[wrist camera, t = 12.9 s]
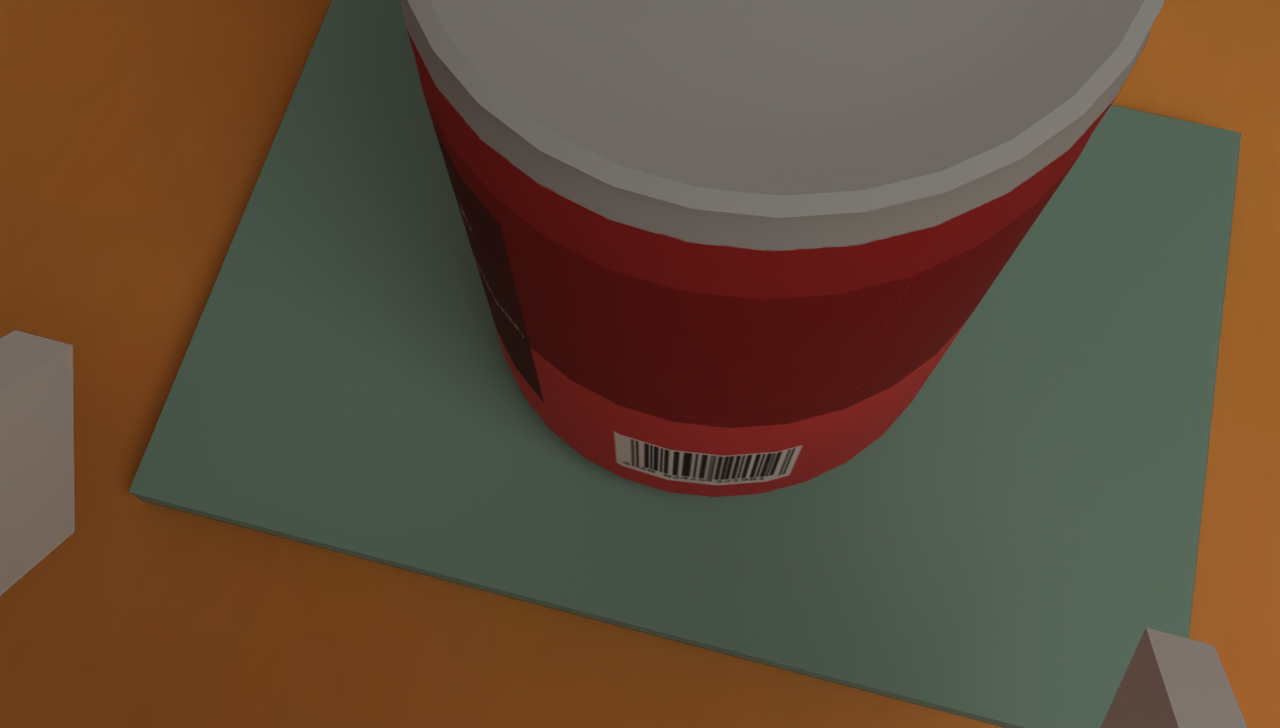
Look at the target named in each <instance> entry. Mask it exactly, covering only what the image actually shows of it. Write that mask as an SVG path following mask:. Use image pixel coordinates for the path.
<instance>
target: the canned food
mask: <svg viewBox="0 0 1280 728" xmlns="http://www.w3.org/2000/svg"><path fill="white" fill-rule="evenodd" d="M1164 1H1165V0H400V3H401V7H402V11H403V16H404V20H405V25H406V29H407V32H408V35H409V39H410V42H411V46H412V49H413V52H414V56H415V60H416V64H417V68H418V73H419V77H420V82H421V86H422V90H423V93H424V97H425V100H426V103H427V106H428V109H429V113H430V116H431V119H432V122H433V126H434V129H435V132H436V135H437V139H438V142H439V145H440V148H441V152H442V155H443V158H444V161H445V164H446V168H447V171H448V174H449V177H450V181H451V184H452V187H453V190H454V194H455V197H456V200H457V203H458V207H459V210H460V213H461V216H462V219H463V223H464V226H465V229H466V232H467V236H468V239H469V242H470V245H471V249H472V252H473V255H474V258H475V262H476V265H477V268H478V271H479V274H480V278H481V281H482V284H483V287H484V291H485V294H486V297H487V300H488V304H489V307H490V310H491V313H492V317H493V320H494V323H495V326H496V329H497V333H498V336H499V339H500V342H501V346H502V349H503V352H504V355H505V359H506V361H507V363H508V365H509V367H510V369H511V371H512V373H513V375H514V377H515V379H516V381H517V383H518V385H519V387H520V390H521V392H522V394H523V396H524V397H525V398H526V400H527V401H528V402H529V403H530V405H531V406H532V407H533V408H534V410H535V411H536V412H537V413H538V415H539V416H540V417H541V419H542V420H543V421H544V422H545V424H546V425H547V426H548V427H549V429H550V430H552V431H553V432H554V433H555V434H556V435H558V436H559V437H560V438H561V439H562V440H564V441H565V442H566V443H567V444H568V445H570V446H571V447H572V448H573V449H574V450H576V451H577V452H578V453H579V454H581V455H582V456H583V457H584V458H586V459H588V460H590V461H592V462H594V463H596V464H598V465H599V466H601V467H603V468H605V469H607V470H609V471H611V472H612V473H614V474H616V475H618V476H620V477H622V478H624V479H627V480H630V481H634V482H637V483H640V484H643V485H647V486H650V487H653V488H656V489H659V490H663V491H666V492H672V493H681V494H690V495H699V496H708V497H723V496H737V495H750V494H762V493H765V492H769V491H773V490H777V489H780V488H784V487H788V486H792V485H796V484H799V483H803V482H806V481H808V480H811V479H813V478H815V477H817V476H819V475H821V474H823V473H825V472H827V471H829V470H831V469H833V468H836V467H838V466H840V465H842V464H844V463H846V462H848V461H849V460H850V459H852V458H853V457H854V456H856V455H857V454H858V453H860V452H861V451H862V450H864V449H865V448H866V447H868V446H869V445H870V444H872V443H873V442H874V441H876V440H877V439H878V438H880V437H881V436H882V435H883V434H884V433H885V432H886V431H887V430H888V429H889V427H890V426H891V425H892V424H893V423H894V422H895V421H896V419H897V418H898V417H899V416H900V415H901V414H902V413H903V412H904V410H905V409H906V408H907V407H908V406H909V405H910V404H911V402H912V401H913V399H914V398H915V396H916V395H917V394H918V392H919V391H920V389H921V388H922V386H923V385H924V383H925V382H926V380H927V379H928V377H929V376H930V375H931V373H932V372H933V370H934V369H935V367H936V366H937V364H938V363H939V361H940V360H941V358H942V357H943V355H944V354H945V353H946V351H947V350H948V348H949V347H950V345H951V344H952V342H953V341H954V339H955V338H956V336H957V335H958V333H959V332H960V331H961V329H962V328H963V326H964V325H965V323H966V322H967V320H968V319H969V317H970V316H971V314H972V313H973V312H974V310H975V309H976V307H977V306H978V304H979V303H980V301H981V300H982V298H983V297H984V295H985V294H986V292H987V291H988V290H989V288H990V287H991V285H992V284H993V282H994V281H995V279H996V278H997V276H998V275H999V273H1000V272H1001V270H1002V269H1003V268H1004V266H1005V265H1006V263H1007V262H1008V260H1009V259H1010V257H1011V256H1012V254H1013V253H1014V251H1015V250H1016V249H1017V247H1018V246H1019V244H1020V243H1021V241H1022V240H1023V238H1024V237H1025V235H1026V234H1027V232H1028V231H1029V229H1030V228H1031V227H1032V225H1033V224H1034V222H1035V221H1036V219H1037V218H1038V216H1039V215H1040V213H1041V212H1042V210H1043V209H1044V207H1045V206H1046V205H1047V203H1048V202H1049V200H1050V199H1051V197H1052V196H1053V194H1054V193H1055V191H1056V190H1057V188H1058V187H1059V186H1060V184H1061V183H1062V181H1063V180H1064V178H1065V177H1066V175H1067V174H1068V172H1069V171H1070V169H1071V168H1072V166H1073V165H1074V164H1075V162H1076V161H1077V159H1078V158H1079V156H1080V155H1081V153H1082V151H1083V149H1084V147H1085V146H1086V144H1087V142H1088V140H1089V138H1090V137H1091V135H1092V133H1093V131H1094V130H1095V128H1096V127H1097V125H1098V124H1099V122H1100V121H1101V119H1102V118H1103V116H1104V115H1105V113H1106V112H1107V110H1108V109H1109V107H1110V106H1111V104H1112V103H1113V101H1114V100H1115V98H1116V97H1117V95H1118V93H1119V91H1120V89H1121V88H1122V86H1123V84H1124V82H1125V80H1126V79H1127V77H1128V75H1129V73H1130V71H1131V70H1132V68H1133V66H1134V64H1135V62H1136V61H1137V59H1138V57H1139V55H1140V53H1141V52H1142V50H1143V48H1144V46H1145V44H1146V43H1147V41H1148V37H1149V33H1150V29H1151V26H1152V24H1153V22H1154V21H1155V19H1156V17H1157V15H1158V13H1159V12H1160V10H1161V8H1162V6H1163V4H1164Z"/></svg>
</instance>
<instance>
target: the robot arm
mask: <svg viewBox="0 0 1280 728" xmlns="http://www.w3.org/2000/svg"><path fill="white" fill-rule="evenodd" d="M74 532H75V501H74V412H73V345H70V344H66V343H63V342H59V341H55V340H51V339H47V338H44V337H40V336H36V335H32V334H28V333H25V332H21V331H17V330H14V331H13V332H11V333H9V334H7V335H6V336H4V337H2V338H0V596H1V595H2V594H3V593H4V592H5V591H7V590H8V589H9V588H10V587H11V586H12V585H14V584H15V583H16V582H17V581H18V580H19V579H21V578H22V577H23V576H24V575H25V574H26V573H27V572H29V571H30V570H31V569H32V568H33V567H34V566H36V565H37V564H38V563H39V562H40V561H41V560H43V559H44V558H45V557H46V556H47V555H48V554H50V553H51V552H52V551H53V550H54V549H55V548H56V547H58V546H59V545H60V544H61V543H62V542H63V541H65V540H66V539H67V538H68V537H69V536H70V535H72V534H73V533H74ZM1100 728H1247V726H1246V723H1245V721H1244V718H1243V716H1242V713H1241V711H1240V708H1239V706H1238V703H1237V701H1236V698H1235V696H1234V694H1233V691H1232V689H1231V686H1230V684H1229V681H1228V679H1227V676H1226V674H1225V671H1224V669H1223V666H1222V664H1221V661H1220V659H1219V656H1218V654H1217V651H1216V649H1215V647H1214V645H1211V644H1207V643H1203V642H1199V641H1195V640H1192V639H1188V638H1184V637H1180V636H1176V635H1173V634H1169V633H1165V632H1161V631H1157V630H1154V629H1150V628H1145V631H1144V633H1143V635H1142V637H1141V639H1140V642H1139V644H1138V646H1137V648H1136V650H1135V653H1134V655H1133V657H1132V659H1131V661H1130V664H1129V666H1128V668H1127V670H1126V672H1125V675H1124V677H1123V679H1122V681H1121V683H1120V686H1119V688H1118V690H1117V692H1116V694H1115V697H1114V699H1113V701H1112V703H1111V705H1110V708H1109V710H1108V712H1107V714H1106V716H1105V719H1104V721H1103V723H1102V725H1101V727H1100Z"/></svg>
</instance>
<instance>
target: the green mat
mask: <svg viewBox="0 0 1280 728" xmlns="http://www.w3.org/2000/svg"><path fill="white" fill-rule="evenodd" d="M1240 139H1241V133H1239V132H1234V131H1230V130H1225V129H1221V128H1216V127H1211V126H1207V125H1202V124H1198V123H1193V122H1188V121H1184V120H1179V119H1174V118H1170V117H1165V116H1161V115H1156V114H1151V113H1147V112H1142V111H1137V110H1133V109H1128V108H1124V107H1119V106H1114V105H1111V106H1110V107H1109V109H1108V110H1107V112H1106V113H1105V115H1104V116H1103V118H1102V119H1101V121H1100V122H1099V124H1098V125H1097V127H1096V128H1095V130H1094V131H1093V133H1092V135H1091V137H1090V138H1089V140H1088V142H1087V144H1086V146H1085V147H1084V149H1083V151H1082V153H1081V155H1080V156H1079V158H1078V159H1077V161H1076V162H1075V164H1074V165H1073V166H1072V168H1071V169H1070V171H1069V172H1068V174H1067V175H1066V177H1065V178H1064V180H1063V181H1062V183H1061V184H1060V186H1059V187H1058V188H1057V190H1056V191H1055V193H1054V194H1053V196H1052V197H1051V199H1050V200H1049V202H1048V203H1047V205H1046V206H1045V207H1044V209H1043V210H1042V212H1041V213H1040V215H1039V216H1038V218H1037V219H1036V221H1035V222H1034V224H1033V225H1032V227H1031V228H1030V229H1029V231H1028V232H1027V234H1026V235H1025V237H1024V238H1023V240H1022V241H1021V243H1020V244H1019V246H1018V247H1017V249H1016V250H1015V251H1014V253H1013V254H1012V256H1011V257H1010V259H1009V260H1008V262H1007V263H1006V265H1005V266H1004V268H1003V269H1002V270H1001V272H1000V273H999V275H998V276H997V278H996V279H995V281H994V282H993V284H992V285H991V287H990V288H989V290H988V291H987V292H986V294H985V295H984V297H983V298H982V300H981V301H980V303H979V304H978V306H977V307H976V309H975V310H974V312H973V313H972V314H971V316H970V317H969V319H968V320H967V322H966V323H965V325H964V326H963V328H962V329H961V331H960V332H959V333H958V335H957V336H956V338H955V339H954V341H953V342H952V344H951V345H950V347H949V348H948V350H947V351H946V353H945V354H944V355H943V357H942V358H941V360H940V361H939V363H938V364H937V366H936V367H935V369H934V370H933V372H932V373H931V375H930V376H929V377H928V379H927V380H926V382H925V383H924V385H923V386H922V388H921V389H920V391H919V392H918V394H917V395H916V396H915V398H914V399H913V401H912V402H911V404H910V405H909V406H908V407H907V408H906V409H905V410H904V412H903V413H902V414H901V415H900V416H899V417H898V418H897V419H896V421H895V422H894V423H893V424H892V425H891V426H890V427H889V429H888V430H887V431H886V432H885V433H884V434H883V435H882V436H881V437H880V438H878V439H877V440H876V441H874V442H873V443H872V444H870V445H869V446H868V447H866V448H865V449H864V450H862V451H861V452H860V453H858V454H857V455H856V456H854V457H853V458H852V459H850V460H849V461H848V462H846V463H844V464H842V465H840V466H838V467H836V468H833V469H831V470H829V471H827V472H825V473H823V474H821V475H819V476H817V477H815V478H813V479H811V480H808V481H806V482H803V483H799V484H796V485H792V486H788V487H784V488H780V489H777V490H773V491H769V492H765V493H762V494H750V495H737V496H723V497H708V496H699V495H690V494H681V493H672V492H666V491H663V490H659V489H656V488H653V487H650V486H647V485H643V484H640V483H637V482H634V481H630V480H627V479H624V478H622V477H620V476H618V475H616V474H614V473H612V472H611V471H609V470H607V469H605V468H603V467H601V466H599V465H598V464H596V463H594V462H592V461H590V460H588V459H586V458H584V457H583V456H582V455H581V454H579V453H578V452H577V451H576V450H574V449H573V448H572V447H571V446H570V445H568V444H567V443H566V442H565V441H564V440H562V439H561V438H560V437H559V436H558V435H556V434H555V433H554V432H553V431H552V430H550V429H549V427H548V426H547V425H546V424H545V422H544V421H543V420H542V419H541V417H540V416H539V415H538V413H537V412H536V411H535V410H534V408H533V407H532V406H531V405H530V403H529V402H528V401H527V400H526V398H525V397H524V396H523V394H522V392H521V390H520V387H519V385H518V383H517V381H516V379H515V377H514V375H513V373H512V371H511V369H510V367H509V365H508V363H507V361H506V359H505V355H504V352H503V349H502V346H501V342H500V339H499V336H498V333H497V329H496V326H495V323H494V320H493V317H492V313H491V310H490V307H489V304H488V300H487V297H486V294H485V291H484V287H483V284H482V281H481V278H480V274H479V271H478V268H477V265H476V262H475V258H474V255H473V252H472V249H471V245H470V242H469V239H468V236H467V232H466V229H465V226H464V223H463V219H462V216H461V213H460V210H459V207H458V203H457V200H456V197H455V194H454V190H453V187H452V184H451V181H450V177H449V174H448V171H447V168H446V164H445V161H444V158H443V155H442V152H441V148H440V145H439V142H438V139H437V135H436V132H435V129H434V126H433V122H432V119H431V116H430V113H429V109H428V106H427V103H426V100H425V97H424V93H423V90H422V86H421V82H420V77H419V73H418V68H417V64H416V60H415V56H414V52H413V49H412V46H411V42H410V39H409V35H408V32H407V29H406V25H405V20H404V16H403V11H402V7H401V3H400V0H332V1H331V4H330V6H329V9H328V11H327V13H326V16H325V18H324V21H323V23H322V26H321V28H320V30H319V33H318V35H317V38H316V40H315V42H314V45H313V47H312V50H311V52H310V55H309V57H308V59H307V62H306V64H305V67H304V69H303V71H302V74H301V76H300V79H299V81H298V84H297V86H296V88H295V91H294V93H293V96H292V98H291V100H290V103H289V105H288V108H287V110H286V113H285V115H284V117H283V120H282V122H281V125H280V127H279V129H278V132H277V134H276V137H275V139H274V142H273V144H272V146H271V149H270V151H269V154H268V156H267V158H266V161H265V163H264V166H263V168H262V171H261V173H260V175H259V178H258V180H257V183H256V185H255V187H254V190H253V192H252V195H251V197H250V200H249V202H248V204H247V207H246V209H245V212H244V214H243V216H242V219H241V221H240V224H239V226H238V229H237V231H236V233H235V236H234V238H233V241H232V243H231V245H230V248H229V250H228V253H227V255H226V257H225V260H224V262H223V265H222V267H221V270H220V272H219V274H218V277H217V279H216V282H215V284H214V286H213V289H212V291H211V294H210V296H209V299H208V301H207V303H206V306H205V308H204V311H203V313H202V315H201V318H200V320H199V323H198V325H197V328H196V330H195V332H194V335H193V337H192V340H191V342H190V344H189V347H188V349H187V352H186V354H185V357H184V359H183V361H182V364H181V366H180V369H179V371H178V373H177V376H176V378H175V381H174V383H173V386H172V388H171V390H170V393H169V395H168V398H167V400H166V402H165V405H164V407H163V410H162V412H161V415H160V417H159V419H158V422H157V424H156V427H155V429H154V431H153V434H152V436H151V439H150V441H149V444H148V446H147V448H146V451H145V453H144V456H143V458H142V460H141V463H140V465H139V468H138V470H137V473H136V475H135V477H134V480H133V482H132V485H131V487H130V489H129V493H131V494H133V495H134V496H136V497H137V498H139V499H141V500H143V501H147V502H150V503H154V504H158V505H162V506H166V507H169V508H173V509H177V510H181V511H185V512H188V513H192V514H196V515H200V516H204V517H207V518H211V519H215V520H219V521H223V522H226V523H230V524H234V525H238V526H242V527H245V528H249V529H253V530H257V531H261V532H264V533H268V534H272V535H276V536H280V537H283V538H287V539H291V540H295V541H299V542H302V543H306V544H310V545H314V546H318V547H321V548H325V549H329V550H333V551H337V552H340V553H344V554H348V555H352V556H356V557H359V558H363V559H367V560H371V561H374V562H378V563H382V564H386V565H390V566H393V567H397V568H401V569H405V570H409V571H412V572H416V573H420V574H424V575H428V576H431V577H435V578H439V579H443V580H447V581H450V582H454V583H458V584H462V585H466V586H469V587H473V588H477V589H481V590H485V591H488V592H492V593H496V594H500V595H504V596H507V597H511V598H515V599H519V600H523V601H526V602H530V603H534V604H538V605H542V606H545V607H549V608H553V609H557V610H561V611H564V612H568V613H572V614H576V615H580V616H583V617H587V618H591V619H595V620H599V621H602V622H606V623H610V624H614V625H618V626H621V627H625V628H629V629H633V630H637V631H640V632H644V633H648V634H652V635H656V636H659V637H663V638H667V639H671V640H674V641H678V642H682V643H686V644H690V645H693V646H697V647H701V648H705V649H709V650H712V651H716V652H720V653H724V654H728V655H731V656H735V657H739V658H743V659H747V660H750V661H754V662H758V663H762V664H766V665H769V666H773V667H777V668H781V669H785V670H788V671H792V672H796V673H800V674H804V675H807V676H811V677H815V678H819V679H823V680H826V681H830V682H834V683H838V684H842V685H845V686H849V687H853V688H857V689H861V690H864V691H868V692H872V693H876V694H880V695H883V696H887V697H891V698H895V699H899V700H902V701H906V702H910V703H914V704H918V705H921V706H925V707H929V708H933V709H937V710H940V711H944V712H948V713H952V714H955V715H959V716H963V717H967V718H971V719H974V720H978V721H982V722H986V723H990V724H993V725H997V726H1001V727H1005V728H1100V727H1101V725H1102V723H1103V721H1104V719H1105V716H1106V714H1107V712H1108V710H1109V708H1110V705H1111V703H1112V701H1113V699H1114V697H1115V694H1116V692H1117V690H1118V688H1119V686H1120V683H1121V681H1122V679H1123V677H1124V675H1125V672H1126V670H1127V668H1128V666H1129V664H1130V661H1131V659H1132V657H1133V655H1134V653H1135V650H1136V648H1137V646H1138V644H1139V642H1140V639H1141V637H1142V635H1143V633H1144V631H1145V628H1150V629H1154V630H1157V631H1161V632H1165V633H1169V634H1173V635H1176V636H1180V637H1184V638H1188V639H1189V630H1190V620H1191V610H1192V601H1193V591H1194V581H1195V572H1196V562H1197V553H1198V543H1199V533H1200V524H1201V514H1202V505H1203V495H1204V485H1205V476H1206V466H1207V457H1208V447H1209V437H1210V428H1211V418H1212V408H1213V399H1214V389H1215V380H1216V370H1217V360H1218V351H1219V341H1220V332H1221V322H1222V312H1223V303H1224V293H1225V284H1226V274H1227V264H1228V255H1229V245H1230V236H1231V226H1232V216H1233V207H1234V197H1235V187H1236V178H1237V168H1238V159H1239V149H1240Z"/></svg>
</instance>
